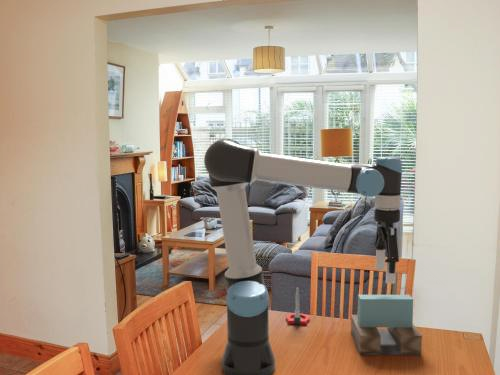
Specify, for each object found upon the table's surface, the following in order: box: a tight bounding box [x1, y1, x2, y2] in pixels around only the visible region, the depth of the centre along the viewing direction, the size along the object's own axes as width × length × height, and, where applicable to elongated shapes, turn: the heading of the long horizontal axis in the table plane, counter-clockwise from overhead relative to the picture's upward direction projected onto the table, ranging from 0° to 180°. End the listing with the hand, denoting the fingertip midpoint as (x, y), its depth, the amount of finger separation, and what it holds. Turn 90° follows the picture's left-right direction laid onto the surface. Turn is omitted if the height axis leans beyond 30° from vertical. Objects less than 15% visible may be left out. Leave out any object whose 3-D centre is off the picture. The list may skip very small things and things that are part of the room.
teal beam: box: [357, 294, 414, 328], centre depth 149 cm, size 16×4×9 cm, turn 88°
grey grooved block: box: [350, 314, 423, 356], centre depth 150 cm, size 18×16×6 cm
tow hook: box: [285, 287, 311, 326], centre depth 169 cm, size 8×13×9 cm
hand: (385, 276), depth 148 cm, fingers open, 13 cm apart
